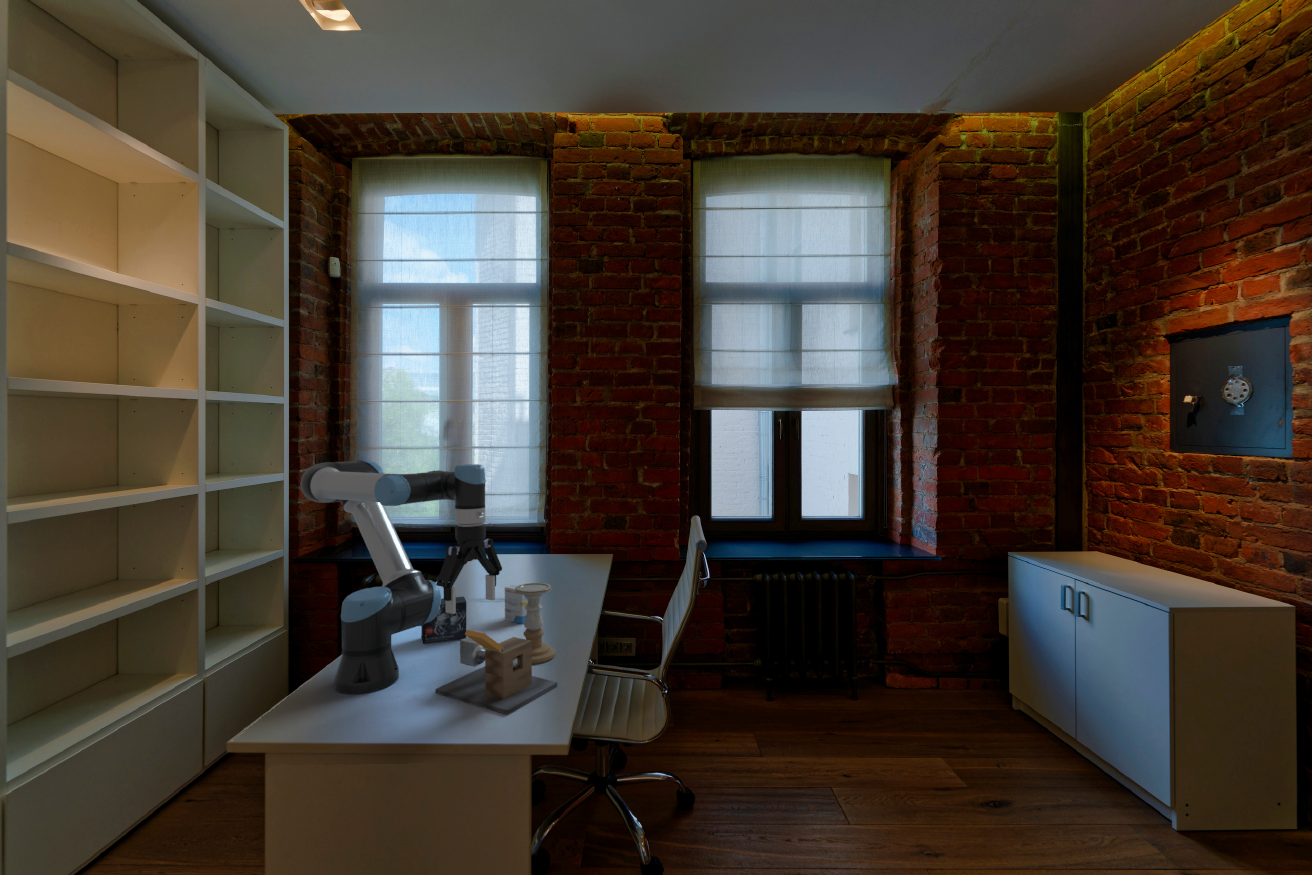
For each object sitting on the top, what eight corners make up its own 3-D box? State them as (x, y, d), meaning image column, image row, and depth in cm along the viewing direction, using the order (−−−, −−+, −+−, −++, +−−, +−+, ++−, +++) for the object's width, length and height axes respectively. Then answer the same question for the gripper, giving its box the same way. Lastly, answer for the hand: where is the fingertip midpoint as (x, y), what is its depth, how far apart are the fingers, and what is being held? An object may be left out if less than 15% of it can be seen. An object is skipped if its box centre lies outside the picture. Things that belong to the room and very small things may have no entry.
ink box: (539, 617, 213) (539, 584, 213) (522, 624, 206) (521, 590, 206) (521, 613, 218) (521, 581, 218) (504, 620, 211) (503, 586, 210)
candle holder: (510, 665, 170) (510, 593, 170) (513, 650, 182) (513, 582, 182) (555, 662, 172) (554, 591, 171) (555, 647, 184) (555, 580, 184)
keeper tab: (464, 634, 143) (467, 629, 144) (485, 649, 149) (488, 644, 150) (482, 638, 141) (484, 633, 141) (502, 653, 146) (505, 648, 147)
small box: (422, 645, 187) (421, 606, 186) (420, 638, 193) (420, 600, 193) (467, 638, 192) (466, 600, 192) (464, 632, 198) (464, 595, 198)
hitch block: (435, 692, 152) (435, 644, 152) (488, 668, 168) (488, 624, 168) (507, 714, 140) (507, 662, 140) (557, 686, 156) (557, 639, 156)
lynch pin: (457, 664, 158) (456, 641, 158) (471, 658, 162) (471, 635, 162) (509, 678, 149) (509, 653, 149) (523, 671, 153) (523, 647, 153)
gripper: (442, 532, 145) (443, 621, 146) (514, 518, 167) (515, 596, 167) (420, 529, 149) (421, 616, 149) (494, 517, 171) (495, 592, 171)
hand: (471, 606), depth 158 cm, fingers open, 13 cm apart
